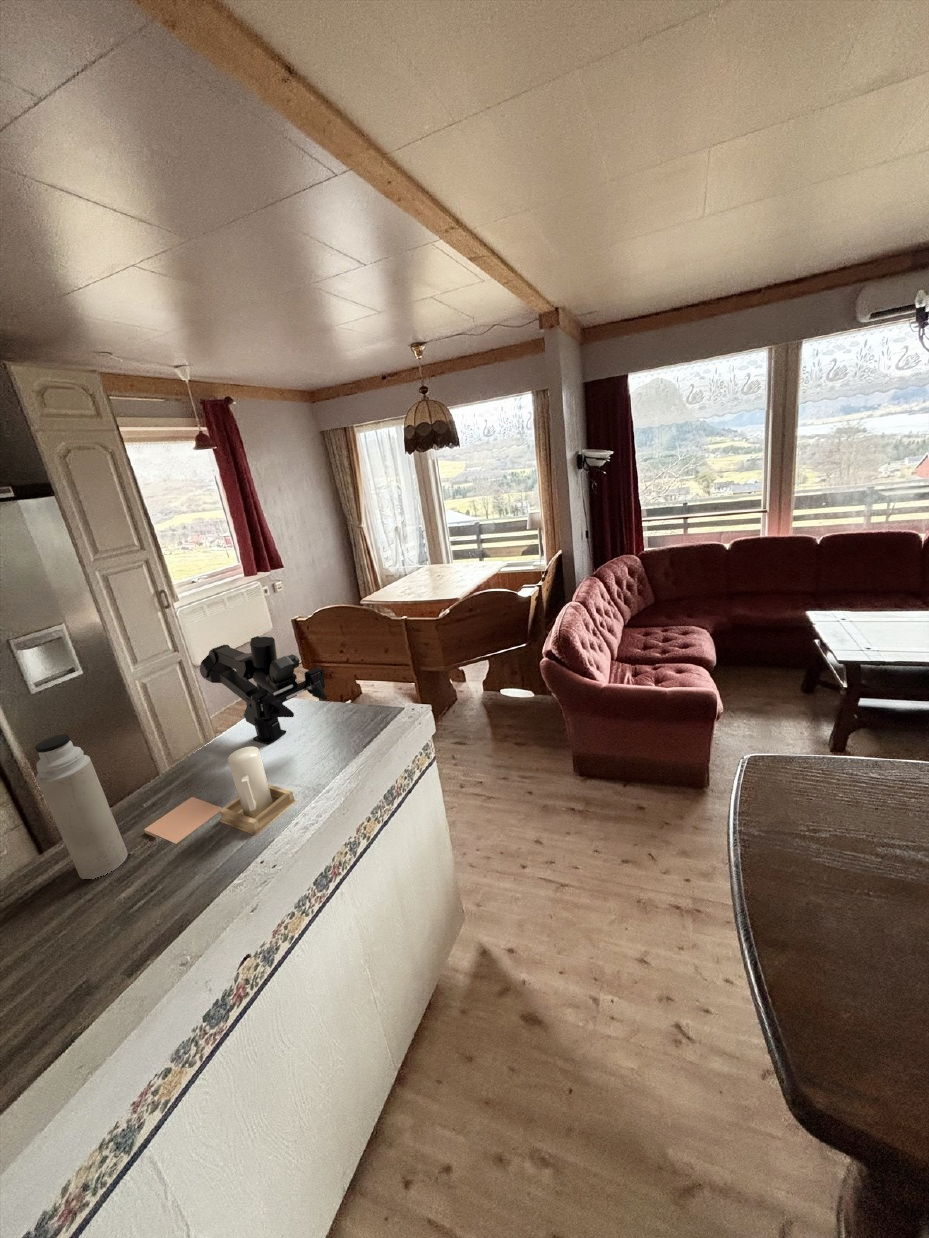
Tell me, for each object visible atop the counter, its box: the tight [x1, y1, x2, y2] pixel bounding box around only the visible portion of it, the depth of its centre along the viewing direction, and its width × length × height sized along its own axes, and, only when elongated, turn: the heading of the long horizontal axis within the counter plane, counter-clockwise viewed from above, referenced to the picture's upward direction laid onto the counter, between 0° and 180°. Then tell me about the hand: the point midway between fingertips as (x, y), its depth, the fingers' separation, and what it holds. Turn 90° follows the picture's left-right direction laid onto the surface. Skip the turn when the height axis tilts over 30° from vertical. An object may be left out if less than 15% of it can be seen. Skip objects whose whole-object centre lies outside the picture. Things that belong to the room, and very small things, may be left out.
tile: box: [144, 796, 224, 845], centre depth 106 cm, size 11×11×1 cm
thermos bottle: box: [35, 733, 128, 880], centre depth 93 cm, size 8×8×28 cm
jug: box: [227, 746, 273, 819], centre depth 103 cm, size 8×6×14 cm
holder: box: [219, 783, 298, 836], centre depth 106 cm, size 11×11×4 cm
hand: (310, 706), depth 116 cm, fingers open, 9 cm apart
